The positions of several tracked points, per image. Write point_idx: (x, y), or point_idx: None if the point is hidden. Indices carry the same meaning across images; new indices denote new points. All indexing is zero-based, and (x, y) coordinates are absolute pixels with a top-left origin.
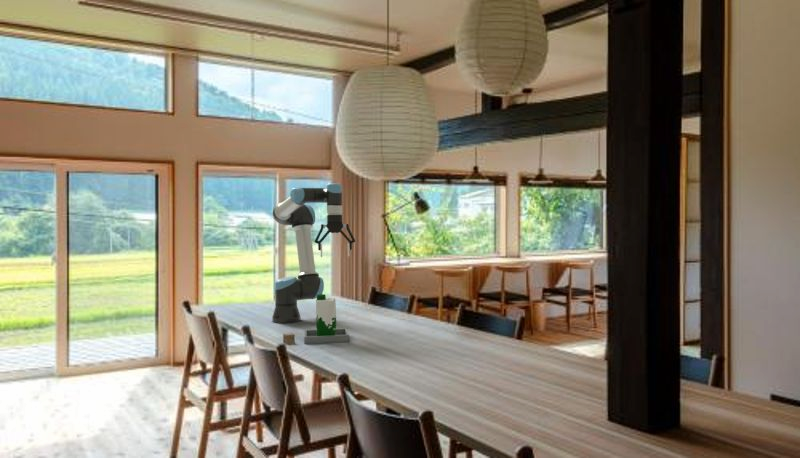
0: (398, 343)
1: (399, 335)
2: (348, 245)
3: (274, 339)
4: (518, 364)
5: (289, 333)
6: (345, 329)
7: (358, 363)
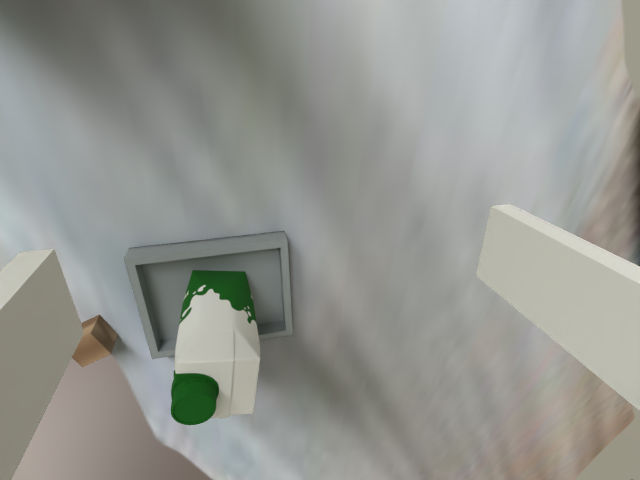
0: (408, 337)
1: (434, 253)
2: (632, 398)
3: None
4: (531, 448)
5: (85, 342)
6: (282, 257)
7: (303, 474)
